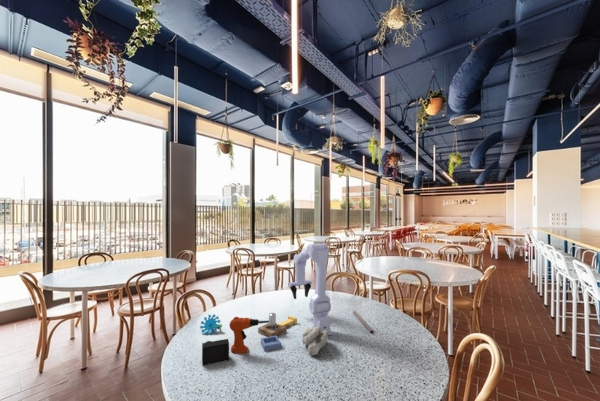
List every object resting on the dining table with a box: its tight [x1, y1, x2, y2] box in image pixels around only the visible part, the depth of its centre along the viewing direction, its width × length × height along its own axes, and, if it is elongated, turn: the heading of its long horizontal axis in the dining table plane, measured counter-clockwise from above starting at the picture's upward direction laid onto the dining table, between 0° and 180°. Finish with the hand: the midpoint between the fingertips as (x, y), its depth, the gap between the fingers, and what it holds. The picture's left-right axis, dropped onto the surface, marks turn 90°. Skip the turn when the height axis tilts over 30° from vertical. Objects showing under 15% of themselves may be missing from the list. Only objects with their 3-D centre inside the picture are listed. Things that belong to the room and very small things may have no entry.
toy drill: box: [229, 316, 269, 355], centre depth 115 cm, size 5×19×15 cm, turn 79°
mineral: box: [301, 326, 329, 356], centre depth 118 cm, size 12×17×10 cm
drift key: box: [277, 315, 298, 327], centre depth 142 cm, size 5×10×3 cm, turn 140°
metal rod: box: [352, 310, 375, 334], centre depth 145 cm, size 2×27×2 cm, turn 7°
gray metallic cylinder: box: [268, 312, 277, 330], centre depth 134 cm, size 3×3×9 cm
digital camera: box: [201, 338, 230, 366], centre depth 109 cm, size 10×5×7 cm, turn 111°
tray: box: [260, 336, 282, 352], centre depth 120 cm, size 8×8×2 cm
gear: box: [199, 314, 223, 336], centre depth 137 cm, size 11×6×10 cm
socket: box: [257, 322, 290, 337], centre depth 136 cm, size 10×15×2 cm, turn 140°
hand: (300, 297), depth 158 cm, fingers open, 7 cm apart
